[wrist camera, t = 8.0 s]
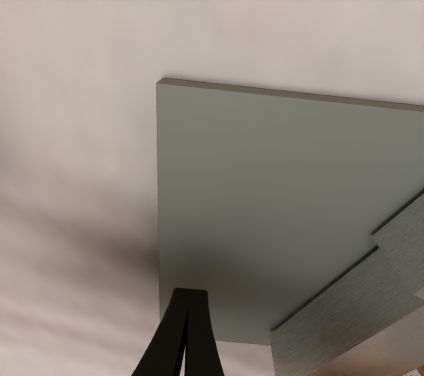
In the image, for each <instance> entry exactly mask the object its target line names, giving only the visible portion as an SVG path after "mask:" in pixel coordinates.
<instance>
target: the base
mask: <svg viewBox="0 0 424 376" xmlns="http://www.w3.org/2000/svg"><path fill="white" fill-rule="evenodd" d="M156 106H157V169H158V232H159V295H160V322H161V320H162V318H163V316H164V314H165V311H166V309H167V307H168V304H169V302H170V299H171V296H172V293H173V289H174V288H176V287H178V288H189V289H200V290H206V291H207V292H208V304H209V312H210V318H211V324H212V329H213V334H214V338H215V341H227V342H238V343H250V344H261V345H271V343H270V336H269V334H271V333H272V332H273V331H275V330H276V329H277V328H278V327H280V326H281V325H282V324H283V323H285V322H286V321H287V320H289V319H290V318H291V317H292V316H294V315H295V314H296V313H297V312H299V311H300V310H301V309H303V308H304V307H305V306H306V305H308V304H309V303H310V302H311V301H313V300H314V299H315V298H317V297H318V296H319V295H320V294H322V293H323V292H324V291H325V290H327V289H328V288H329V287H330V286H332V285H333V284H334V283H336V282H337V281H338V280H339V279H341V278H342V277H343V276H344V275H346V274H347V273H348V272H350V271H351V270H352V269H353V268H355V267H356V266H357V265H358V264H360V263H361V262H362V261H364V260H365V259H366V258H367V257H369V256H370V255H371V254H372V253H374V252H375V251H376V250H378V249H379V246H378V245H377V244H376V242H375V241H374V240H373V238H372V236H373V235H374V234H375V233H376V232H378V231H379V230H380V229H381V228H382V227H384V226H385V225H386V224H387V223H389V222H390V221H391V220H392V219H393V218H395V217H396V216H397V215H398V214H399V213H401V212H402V211H403V210H404V209H405V208H407V207H408V206H409V205H410V204H411V203H413V202H414V201H415V200H416V199H418V198H419V197H420V196H421V195H422V194H424V106H418V105H409V104H400V103H391V102H381V101H372V100H363V99H354V98H344V97H335V96H326V95H317V94H307V93H298V92H289V91H280V90H270V89H261V88H252V87H242V86H233V85H224V84H215V83H205V82H196V81H187V80H178V79H168V78H162V79H161V80H160V81H158V82H157V83H156Z"/></svg>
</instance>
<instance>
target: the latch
mask: <svg viewBox="0 0 424 376" xmlns="http://www.w3.org/2000/svg"><path fill="white" fill-rule="evenodd" d="M372 238H373V240H374V241H375V242H376V244H377V245H378V246H379V249H378V250H376V251H375V252H374V253H372V254H371V255H370V256H369V257H367V258H366V259H365V260H364V261H362V262H361V263H360V264H358V265H357V266H356V267H355V268H353V269H352V270H351V271H350V272H348V273H347V274H346V275H344V276H343V277H342V278H341V279H339V280H338V281H337V282H336V283H334V284H333V285H332V286H330V287H329V288H328V289H327V290H325V291H324V292H323V293H322V294H320V295H319V296H318V297H317V298H315V299H314V300H313V301H311V302H310V303H309V304H308V305H306V306H305V307H304V308H303V309H301V310H300V311H299V312H297V313H296V314H295V315H294V316H292V317H291V318H290V319H289V320H287V321H286V322H285V323H283V324H282V325H281V326H280V327H278V328H277V329H276V330H275V331H273V332H272V333H271V334H269V336H270V343H271V349H272V356H273V362H274V368H275V375H276V376H402V375H404V374H406V373H408V372H410V371H412V370H415V369H417V368H419V367H421V366H423V365H424V194H422V195H421V196H420V197H419V198H418V199H416V200H415V201H414V202H413V203H411V204H410V205H409V206H408V207H407V208H405V209H404V210H403V211H402V212H401V213H399V214H398V215H397V216H396V217H395V218H393V219H392V220H391V221H390V222H389V223H387V224H386V225H385V226H384V227H382V228H381V229H380V230H379V231H378V232H376V233H375V234H374V235H373V236H372Z"/></svg>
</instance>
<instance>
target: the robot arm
mask: <svg viewBox="0 0 424 376" xmlns="http://www.w3.org/2000/svg"><path fill="white" fill-rule="evenodd" d="M185 345H186V347H185ZM184 350H185V375H184V376H224V373H223V369H222V366H221V363H220V359H219V355H218V351H217V347H216V343H215V338H214V334H213V329H212V324H211V318H210V312H209V304H208V292H207V291H206V290H200V289H189V288H178V287H176V288H174V289H173V293H172V296H171V299H170V302H169V304H168V307H167V309H166V311H165V314H164V316H163V318H162V320H161V322H160V324H159V326H158V328H157V330H156V332H155V335H154V337H153V339H152V340H151V342H150V344H149V346H148V348H147V350H146V351H145V353H144V355H143V357H142V358H141V360H140V362H139V364H138V365H137V367H136V369H135V371H134V372H133V374H132V375H131V376H180V371H181V366H182V360H183V355H184Z"/></svg>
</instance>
